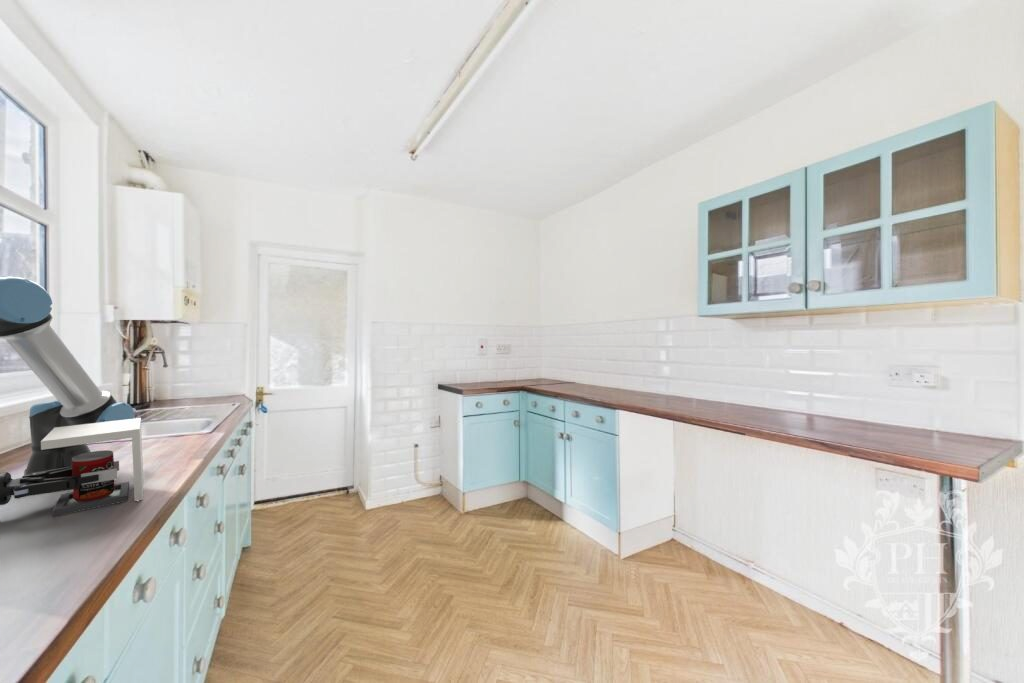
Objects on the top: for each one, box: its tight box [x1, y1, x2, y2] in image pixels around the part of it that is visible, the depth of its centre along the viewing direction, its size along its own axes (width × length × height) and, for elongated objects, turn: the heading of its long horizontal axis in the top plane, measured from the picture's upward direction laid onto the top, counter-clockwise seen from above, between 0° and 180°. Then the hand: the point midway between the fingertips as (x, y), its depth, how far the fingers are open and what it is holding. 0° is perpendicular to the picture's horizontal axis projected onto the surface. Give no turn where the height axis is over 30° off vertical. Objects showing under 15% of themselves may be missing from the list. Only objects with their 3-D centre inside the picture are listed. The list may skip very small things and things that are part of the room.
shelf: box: [41, 417, 144, 502], centre depth 108 cm, size 17×18×19 cm
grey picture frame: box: [52, 481, 130, 517], centre depth 107 cm, size 13×13×2 cm
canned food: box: [72, 449, 115, 502], centre depth 107 cm, size 8×8×11 cm
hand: (117, 469), depth 110 cm, fingers closed on canned food, 8 cm apart
